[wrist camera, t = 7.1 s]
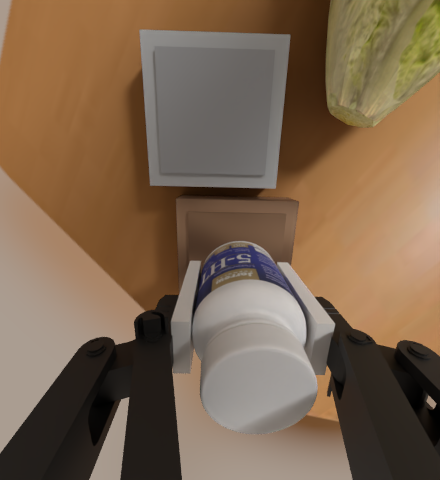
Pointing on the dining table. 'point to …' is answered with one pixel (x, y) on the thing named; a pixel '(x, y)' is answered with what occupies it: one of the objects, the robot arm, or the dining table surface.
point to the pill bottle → (250, 343)
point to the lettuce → (379, 56)
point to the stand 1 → (213, 107)
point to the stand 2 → (233, 226)
